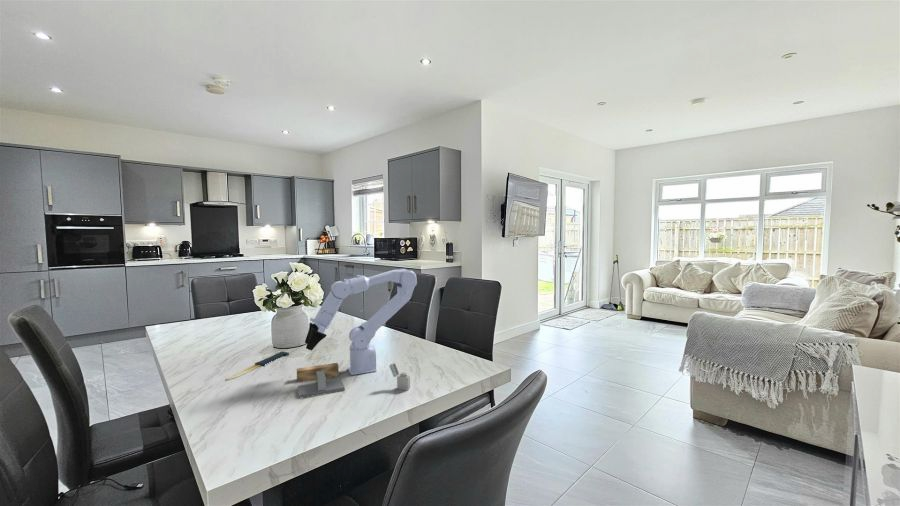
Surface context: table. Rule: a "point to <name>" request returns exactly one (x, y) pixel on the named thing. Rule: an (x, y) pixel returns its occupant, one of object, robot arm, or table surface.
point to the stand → (320, 386)
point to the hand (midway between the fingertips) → (308, 346)
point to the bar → (311, 371)
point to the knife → (258, 364)
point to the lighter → (400, 378)
